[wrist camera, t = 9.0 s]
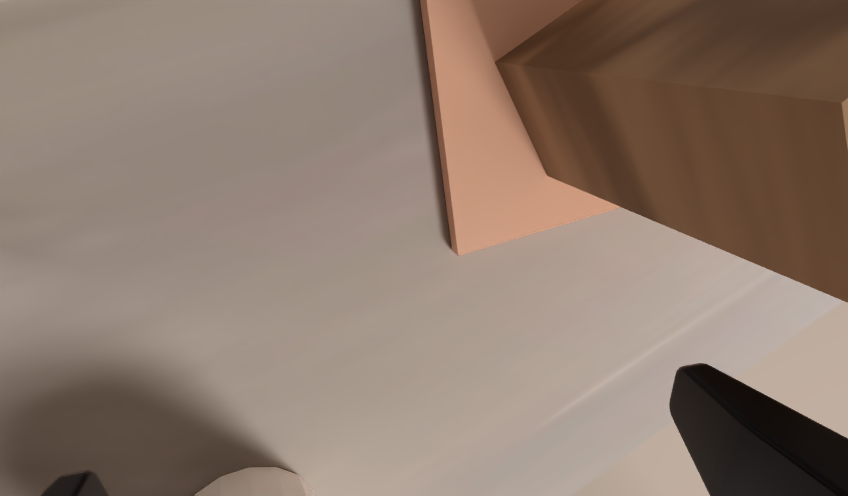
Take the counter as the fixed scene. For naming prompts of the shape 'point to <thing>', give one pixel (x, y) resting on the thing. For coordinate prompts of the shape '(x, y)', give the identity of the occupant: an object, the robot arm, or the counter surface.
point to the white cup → (258, 483)
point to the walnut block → (702, 121)
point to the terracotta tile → (491, 125)
